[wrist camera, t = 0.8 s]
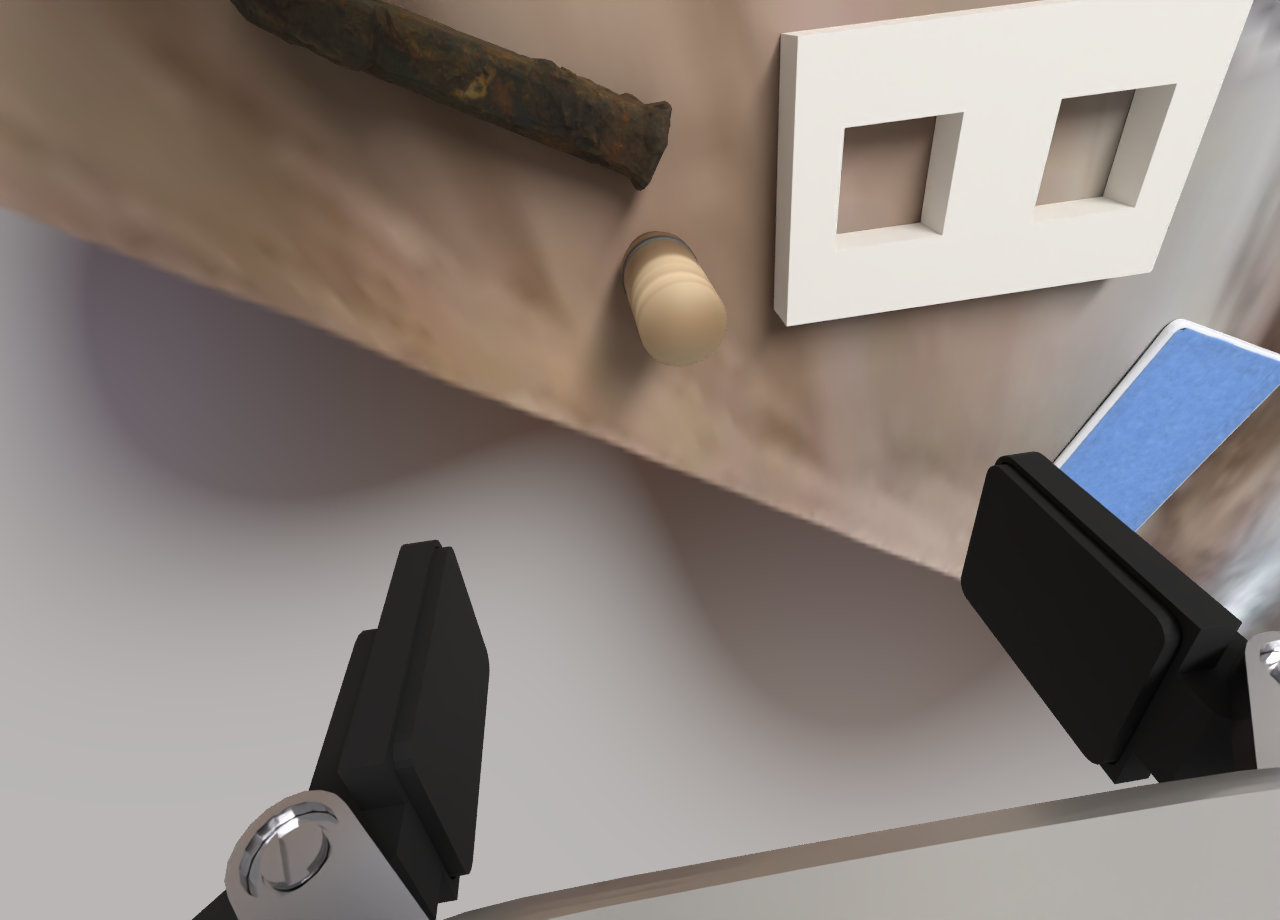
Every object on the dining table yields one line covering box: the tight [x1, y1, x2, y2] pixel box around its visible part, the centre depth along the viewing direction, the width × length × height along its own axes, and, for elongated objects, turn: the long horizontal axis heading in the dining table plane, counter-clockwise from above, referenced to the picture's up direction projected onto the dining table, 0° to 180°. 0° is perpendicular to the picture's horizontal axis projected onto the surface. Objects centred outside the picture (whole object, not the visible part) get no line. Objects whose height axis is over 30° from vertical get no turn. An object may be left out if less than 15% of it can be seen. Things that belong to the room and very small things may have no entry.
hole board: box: [774, 0, 1253, 326], centre depth 35 cm, size 14×22×2 cm, turn 96°
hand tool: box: [230, 0, 672, 191], centre depth 28 cm, size 19×4×5 cm, turn 67°
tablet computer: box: [1053, 319, 1280, 532], centre depth 50 cm, size 19×13×1 cm, turn 161°
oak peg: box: [621, 231, 727, 366], centre depth 33 cm, size 4×4×9 cm
